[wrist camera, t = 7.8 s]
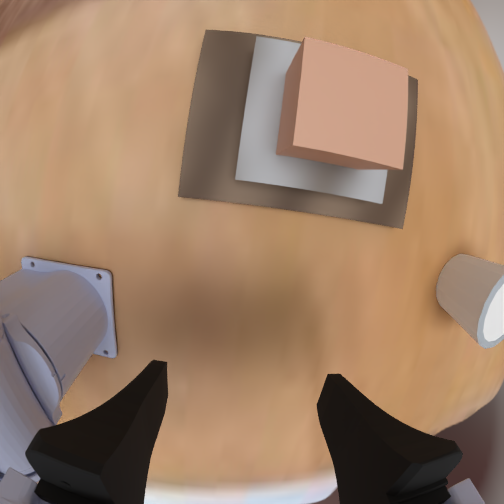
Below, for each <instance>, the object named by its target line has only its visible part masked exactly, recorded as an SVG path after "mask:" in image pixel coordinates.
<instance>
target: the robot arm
mask: <svg viewBox="0 0 504 504" xmlns="http://www.w3.org/2000/svg"><path fill="white" fill-rule="evenodd" d="M33 262H34V265H35V266H34V265H33ZM21 263H22V269H21V270H19V271H17V272H15V273H13V274H12V275H10V276H8V277H6V278H4V279H3V280H1V281H0V504H144V496H145V488H146V482H147V475H148V469H149V464H150V458H151V455H152V451H153V448H154V444H155V441H156V438H157V435H158V432H159V429H160V426H161V423H162V420H163V417H164V414H165V409H166V403H167V398H168V383H167V362H163V361H157V360H153V361H151V362H150V363H149V364H148V365H147V367H146V368H145V369H144V370H143V371H142V372H141V373H140V374H139V375H138V376H137V377H136V378H135V379H134V380H133V381H131V382H130V383H129V384H128V385H127V386H126V387H125V388H124V389H122V390H121V391H120V392H119V393H117V394H116V395H115V396H114V397H112V398H111V399H110V400H108V401H107V402H105V403H104V404H102V405H101V406H99V407H97V408H96V409H94V410H92V411H90V412H88V413H86V414H84V415H82V416H80V417H78V418H75V419H73V420H70V421H67V422H65V423H62V424H58V425H56V424H57V422H58V421H59V419H60V417H61V416H62V412H61V410H60V401H61V400H62V398H63V397H64V395H65V394H66V392H67V391H68V389H69V388H70V386H71V385H72V383H73V382H74V380H75V379H76V377H77V376H78V374H79V373H80V371H81V370H82V368H83V367H84V366H85V364H86V363H87V361H88V360H89V358H90V357H91V355H92V354H97V355H101V356H105V357H109V358H115V357H116V356H117V344H116V334H115V323H114V310H113V291H112V275H111V273H110V272H109V271H108V270H103V269H97V268H91V267H85V266H78V265H72V264H66V263H61V262H55V261H49V260H44V259H38V258H33V257H27V256H25V257H23V258H22V260H21ZM98 273H99V274H101V276H102V278H100V277H99V276H98ZM105 350H106V351H108V353H107V352H106V351H105ZM317 411H318V416H319V422H320V425H321V428H322V431H323V434H324V437H325V440H326V443H327V446H328V449H329V452H330V455H331V458H332V461H333V465H334V469H335V474H336V479H337V486H338V492H339V500H340V504H485V503H484V501H483V500H482V498H481V496H480V495H479V493H478V491H477V490H476V488H475V487H474V485H473V484H472V482H471V480H470V479H466V480H464V481H462V482H460V483H458V484H456V485H454V486H452V487H451V488H449V489H448V490H447V488H446V486H445V485H447V484H448V481H447V479H446V477H447V476H448V474H449V473H450V472H451V471H452V470H453V469H454V468H455V467H456V465H457V464H458V463H459V462H460V460H461V458H462V455H463V453H462V451H461V450H460V449H459V447H458V446H457V444H456V443H455V441H452V440H447V439H443V438H439V437H435V436H432V435H429V434H427V433H424V432H421V431H419V430H416V429H414V428H412V427H410V426H408V425H406V424H404V423H402V422H400V421H399V420H397V419H395V418H394V417H392V416H391V415H389V414H387V413H386V412H385V411H383V410H382V409H381V408H379V407H378V406H376V405H375V404H374V403H373V402H371V401H370V400H369V399H368V398H367V397H365V396H364V395H363V394H362V393H361V392H360V391H359V390H357V389H356V388H355V387H354V386H353V385H352V384H351V383H350V382H349V381H348V380H346V379H345V378H344V377H343V376H342V375H341V374H328V375H327V378H326V380H325V383H324V386H323V389H322V392H321V395H320V397H319V400H318V403H317ZM38 481H39V483H38V484H37V483H36V482H38Z"/></svg>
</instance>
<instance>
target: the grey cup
mask: <svg viewBox="0 0 504 504" xmlns="http://www.w3.org/2000/svg"><path fill="white" fill-rule="evenodd" d="M436 298H437V300H438V303H439V305H440V306H441V307H442V308H443V309H444V310H445V311H446V312H447V313H448V314H449V315H450V316H451V317H452V318H453V319H454V320H455V321H456V322H457V323H458V324H459V325H460V326H461V327H462V328H463V329H464V330H465V331H466V332H467V333H468V334H469V335H470V336H471V337H472V338H473V339H474V340H475V341H476V342H477V343H478V344H479V345H480V346H482V347H483V348H485V349H486V348H491V347H494V346H495V345H497V344H498V343H499V342H501V341H502V340H503V339H504V265H501V264H498V263H494V262H491V261H488V260H484V259H481V258H477V257H474V256H470V255H466V254H458V255H456V256H454V257H452V258H451V259H450V260H449V261H448V262H447V263H446V264H445V266H444V267H443V269H442V271H441V273H440V275H439V278H438V282H437V285H436Z"/></svg>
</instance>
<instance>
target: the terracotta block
mask: <svg viewBox="0 0 504 504" xmlns="http://www.w3.org/2000/svg"><path fill="white" fill-rule="evenodd" d="M407 112H408V69H407V68H404V67H402V66H399V65H397V64H394V63H392V62H389V61H386V60H384V59H381V58H378V57H375V56H373V55H370V54H367V53H364V52H361V51H357V50H354V49H351V48H348V47H344V46H341V45H337V44H333V43H329V42H325V41H321V40H317V39H313V38H308V37H304V39H303V41H302V43H301V45H300V47H299V49H298V51H297V53H296V55H295V56H294V58H293V60H292V62H291V64H290V66H289V68H288V70H287V72H286V76H285V84H284V92H283V101H282V109H281V117H280V125H279V133H278V141H277V148H276V155H282V156H289V157H295V158H301V159H307V160H312V161H318V162H323V163H328V164H334V165H339V166H343V167H348V168H353V169H357V170H403V163H404V154H405V143H406V130H407Z"/></svg>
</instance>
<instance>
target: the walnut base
mask: <svg viewBox="0 0 504 504" xmlns="http://www.w3.org/2000/svg"><path fill="white" fill-rule="evenodd" d="M301 43H302V42H300V41H295V40H290V39H284V38H279V37H272V36H266V35H259V34H251V33H242V32H232V31H219V30H206V31H205V36H204V40H203V44H202V49H201V53H200V58H199V63H198V68H197V73H196V78H195V83H194V89H193V94H192V100H191V106H190V112H189V118H188V124H187V131H186V138H185V145H184V152H183V160H182V168H181V176H180V185H179V194H178V197H186V198H196V199H206V200H215V201H224V202H232V203H240V204H248V205H256V206H264V207H271V208H279V209H286V210H293V211H300V212H306V213H313V214H320V215H326V216H332V217H338V218H344V219H350V220H356V221H362V222H368V223H373V224H379V225H384V226H390V227H395V228H400V229H403V225H404V219H405V214H406V208H407V202H408V196H409V189H410V183H411V175H412V167H413V158H414V148H415V137H416V122H417V98H418V80H417V79H415V78H413V77H411V76H408V112H407V130H406V143H405V154H404V163H403V170H357V169H353V168H348V167H343V166H339V165H334V164H328V163H323V162H318V161H312V160H307V159H301V158H295V157H289V156H282V155H276V148H277V141H278V133H279V125H280V117H281V109H282V101H283V92H284V84H285V76H286V72H287V70H288V68H289V66H290V64H291V62H292V60H293V58H294V56H295V55H296V53H297V51H298V49H299V47H300V45H301Z"/></svg>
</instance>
